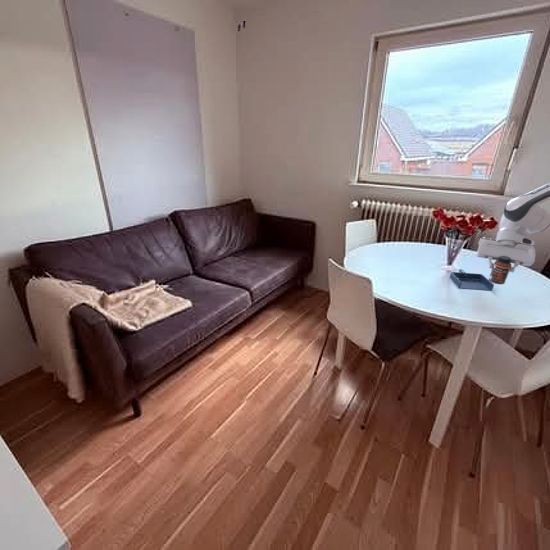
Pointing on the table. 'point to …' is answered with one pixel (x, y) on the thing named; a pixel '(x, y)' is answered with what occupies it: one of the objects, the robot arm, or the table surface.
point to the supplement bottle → (500, 270)
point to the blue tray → (471, 281)
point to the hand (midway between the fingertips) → (501, 269)
